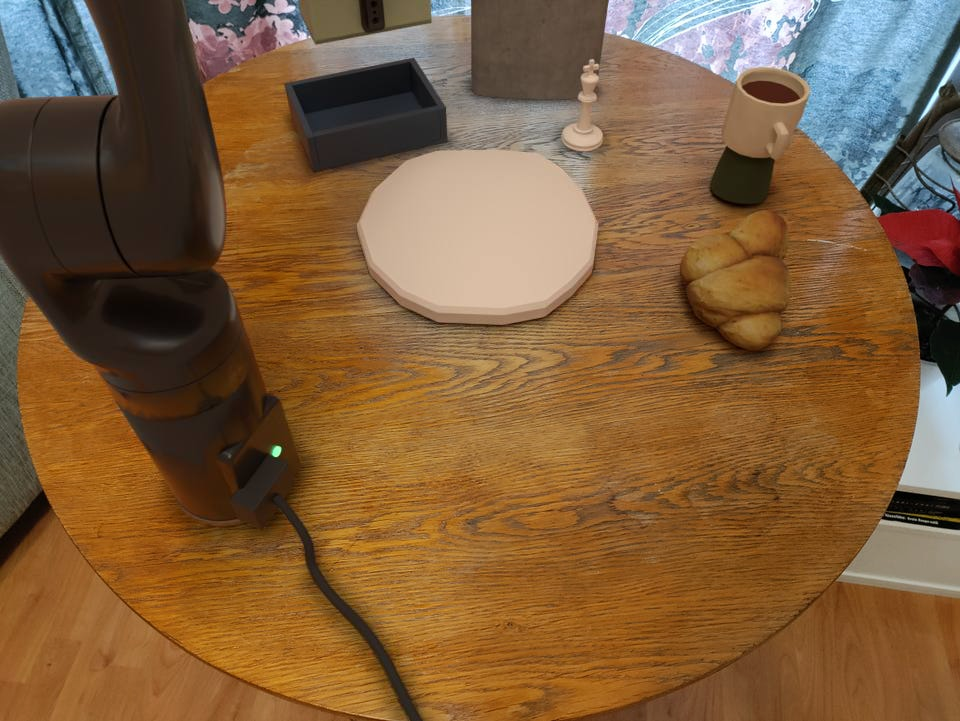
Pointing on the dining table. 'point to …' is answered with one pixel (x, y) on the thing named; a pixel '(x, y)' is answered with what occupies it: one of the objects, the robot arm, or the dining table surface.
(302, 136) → the big bin
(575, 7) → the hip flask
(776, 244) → the bread roll
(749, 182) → the character mug
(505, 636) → the dining table surface
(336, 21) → the small bin
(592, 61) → the chess piece
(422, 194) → the decorative plate
